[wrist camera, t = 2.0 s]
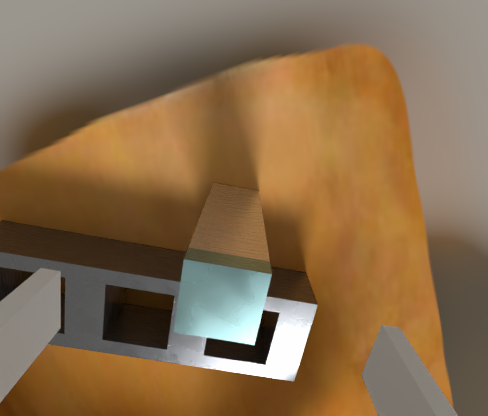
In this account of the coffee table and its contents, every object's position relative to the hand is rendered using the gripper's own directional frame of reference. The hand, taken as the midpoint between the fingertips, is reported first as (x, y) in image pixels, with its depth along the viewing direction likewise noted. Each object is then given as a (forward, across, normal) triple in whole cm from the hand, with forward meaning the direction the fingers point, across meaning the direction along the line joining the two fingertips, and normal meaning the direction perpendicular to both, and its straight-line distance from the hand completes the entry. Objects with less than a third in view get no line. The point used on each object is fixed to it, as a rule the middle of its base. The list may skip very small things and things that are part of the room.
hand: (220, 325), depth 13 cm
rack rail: (+16, +6, +10) cm, 19 cm away
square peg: (+16, 0, 0) cm, 16 cm away
